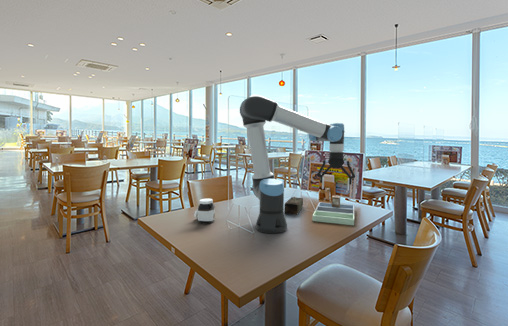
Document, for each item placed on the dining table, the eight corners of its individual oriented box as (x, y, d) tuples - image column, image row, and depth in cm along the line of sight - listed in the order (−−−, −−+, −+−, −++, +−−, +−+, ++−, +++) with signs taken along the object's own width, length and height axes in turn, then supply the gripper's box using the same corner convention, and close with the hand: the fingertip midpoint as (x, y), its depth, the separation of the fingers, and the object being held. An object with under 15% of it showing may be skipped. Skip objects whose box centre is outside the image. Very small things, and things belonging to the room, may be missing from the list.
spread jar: (210, 225, 136) (209, 202, 135) (189, 223, 138) (188, 201, 137) (217, 218, 148) (217, 197, 147) (198, 216, 150) (198, 196, 149)
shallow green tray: (315, 215, 151) (315, 210, 151) (317, 211, 160) (317, 206, 160) (354, 219, 144) (354, 214, 144) (354, 214, 153) (354, 209, 153)
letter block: (331, 211, 160) (331, 197, 159) (332, 209, 164) (332, 195, 163) (339, 211, 158) (339, 197, 158) (339, 209, 163) (340, 196, 162)
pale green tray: (312, 220, 142) (312, 215, 142) (314, 216, 151) (314, 210, 150) (354, 225, 135) (354, 219, 135) (354, 219, 144) (354, 214, 143)
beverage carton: (303, 207, 170) (303, 196, 170) (297, 215, 152) (297, 204, 152) (290, 205, 173) (291, 195, 172) (283, 214, 155) (283, 203, 154)
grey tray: (317, 210, 161) (317, 205, 160) (319, 207, 169) (319, 202, 169) (354, 214, 154) (354, 209, 153) (354, 210, 162) (354, 205, 162)
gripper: (360, 151, 148) (359, 189, 150) (314, 150, 156) (313, 186, 158) (360, 152, 141) (359, 192, 143) (312, 151, 149) (311, 189, 151)
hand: (335, 189), depth 151 cm, fingers open, 13 cm apart
